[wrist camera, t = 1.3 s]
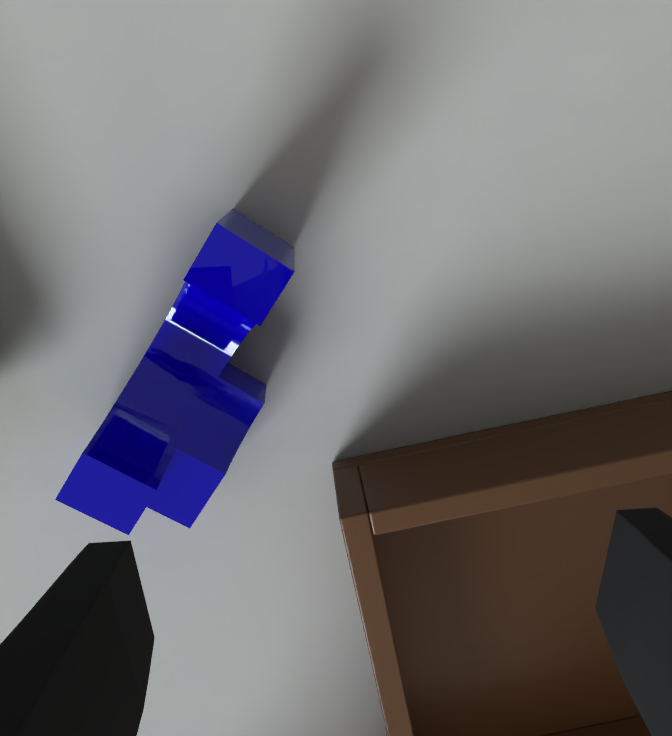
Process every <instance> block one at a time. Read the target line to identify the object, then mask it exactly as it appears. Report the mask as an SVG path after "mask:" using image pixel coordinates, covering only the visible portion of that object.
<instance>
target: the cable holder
mask: <svg viewBox="0 0 672 736" xmlns="http://www.w3.org/2000/svg"><path fill="white" fill-rule="evenodd" d="M294 272H295V271H294V247H292V246H291V245H289V244H287V243H286V242H284V241H283V240H281V239H280V238H278V237H277V236H275V235H273V234H272V233H270V232H269V231H267V230H266V229H264V228H262V227H261V226H259V225H258V224H256V223H255V222H253V221H251V220H250V219H248V218H247V217H245V216H244V215H242V214H241V213H239V212H237V211H236V210H234V209H232V210H231V211H230V212H229V213H227V214H226V215H225V216H224V217H223V218H222V219H220V220H219V221H218V222H217V223H216V225H215V227H214V228H213V230H212V232H211V233H210V235H209V237H208V239H207V240H206V242H205V244H204V245H203V247H202V249H201V251H200V252H199V254H198V256H197V257H196V259H195V261H194V263H193V264H192V266H191V268H190V269H189V271H188V273H187V275H186V276H185V278H184V281H185V283H184V285H183V288H182V290H181V292H180V294H179V295H178V297H177V299H176V301H175V303H174V305H173V307H172V308H171V310H170V312H169V314H168V316H167V317H166V319H165V321H164V323H163V324H162V326H161V328H160V330H159V331H158V333H157V335H156V337H155V338H154V340H153V342H152V343H151V345H150V347H149V349H148V350H147V352H146V354H145V355H144V357H143V359H142V360H141V362H140V364H139V365H138V367H137V369H136V370H135V372H134V374H133V375H132V377H131V378H130V380H129V382H128V383H127V385H126V387H125V388H124V390H123V391H122V393H121V395H120V396H119V398H118V399H117V401H116V403H115V404H114V406H113V407H112V409H111V411H110V412H109V414H108V415H107V417H106V418H105V420H104V422H103V423H102V425H101V426H100V428H99V429H98V431H97V432H96V434H95V435H94V437H93V438H92V440H91V441H90V443H89V444H88V446H87V447H86V449H85V450H84V451H83V453H82V455H81V456H80V458H79V460H78V461H77V463H76V465H75V467H74V468H73V470H72V472H71V473H70V475H69V477H68V479H67V480H66V482H65V484H64V485H63V487H62V489H61V491H60V492H59V494H58V496H57V497H56V499H55V500H57V501H59V502H61V503H63V504H65V505H67V506H70V507H72V508H74V509H76V510H78V511H80V512H82V513H84V514H86V515H88V516H90V517H92V518H94V519H96V520H98V521H101V522H103V523H105V524H107V525H109V526H111V527H113V528H115V529H117V530H119V531H121V532H123V533H125V534H127V535H129V534H130V532H131V530H132V529H133V527H134V526H135V524H136V523H137V521H138V519H139V518H140V516H141V515H142V513H143V511H144V510H145V508H146V507H148V508H150V509H152V510H154V511H156V512H158V513H160V514H162V515H164V516H166V517H168V518H170V519H172V520H174V521H176V522H178V523H180V524H182V525H184V526H186V527H188V528H190V527H191V526H192V524H193V523H194V521H195V520H196V518H197V517H198V515H199V514H200V512H201V511H202V509H203V507H204V506H205V504H206V503H207V501H208V500H209V498H210V497H211V495H212V494H213V492H214V491H215V489H216V488H217V486H218V485H219V483H220V482H221V480H222V479H223V477H224V476H225V474H226V472H227V470H228V468H229V465H230V463H231V461H232V459H233V457H234V455H235V453H236V451H237V449H238V448H239V446H240V444H241V442H242V440H243V438H244V437H245V435H246V433H247V431H248V429H249V428H250V426H251V424H252V423H253V421H254V419H255V418H256V416H257V414H258V413H259V411H260V410H261V408H262V406H263V405H264V403H265V394H266V385H265V384H263V383H262V382H260V381H258V380H256V379H255V378H253V377H251V376H249V375H248V374H246V373H244V372H242V371H241V370H239V369H237V368H236V367H234V366H232V365H230V364H229V363H227V362H228V361H229V359H230V358H231V356H232V355H233V353H234V352H235V350H236V349H237V347H238V346H239V345H240V343H241V342H242V340H243V339H244V338H245V336H246V335H247V334H248V333H249V331H250V330H251V329H252V328H253V327H254V326H255V325H256V324H258V325H259V326H261V324H262V322H263V321H264V319H265V318H266V316H267V315H268V313H269V311H270V310H271V308H272V307H273V305H274V303H275V302H276V300H277V299H278V297H279V295H280V294H281V292H282V291H283V289H284V288H285V286H286V284H287V283H288V281H289V280H290V278H291V276H292V275H293V273H294Z"/></svg>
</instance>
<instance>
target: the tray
mask: <svg viewBox="0 0 672 736" xmlns="http://www.w3.org/2000/svg"><path fill="white" fill-rule="evenodd" d="M332 467H333V475H334V482H335V490H336V497H337V505H338V512H339V520H340V524H341V528H342V533H343V537H344V542H345V546H346V551H347V555H348V560H349V564H350V569H351V573H352V578H353V582H354V587H355V591H356V595H357V600H358V604H359V609H360V613H361V618H362V622H363V627H364V631H365V636H366V640H367V645H368V649H369V654H370V658H371V662H372V667H373V671H374V676H375V680H376V685H377V689H378V694H379V698H380V703H381V707H382V712H383V716H384V721H385V725H386V730H387V734H388V736H652V735H651V733H650V731H649V730H648V728H647V726H646V724H645V722H644V720H643V718H642V716H641V714H640V712H639V710H638V708H637V706H636V704H635V702H634V700H633V699H632V697H631V695H630V693H629V691H628V689H627V687H626V685H625V683H624V681H623V679H622V677H621V675H620V672H619V670H618V667H617V665H616V662H615V660H614V657H613V655H612V652H611V650H610V647H609V644H608V642H607V639H606V636H605V634H604V631H603V628H602V625H601V623H600V620H599V617H598V614H597V612H596V609H595V606H596V602H597V597H598V592H599V588H600V583H601V579H602V574H603V569H604V565H605V560H606V556H607V551H608V547H609V542H610V537H611V533H612V528H613V524H614V519H615V514H616V510H624V509H640V508H656V507H657V508H658V509H660V510H661V511H663V512H664V513H666V514H667V515H669V516H670V517H672V391H671V392H666V393H661V394H656V395H651V396H647V397H642V398H637V399H632V400H627V401H622V402H618V403H613V404H608V405H603V406H598V407H594V408H589V409H584V410H579V411H574V412H569V413H565V414H560V415H555V416H550V417H545V418H541V419H536V420H531V421H526V422H521V423H517V424H512V425H507V426H502V427H497V428H492V429H488V430H483V431H478V432H473V433H468V434H464V435H459V436H454V437H449V438H444V439H439V440H435V441H430V442H425V443H420V444H415V445H411V446H406V447H401V448H396V449H391V450H387V451H382V452H377V453H372V454H367V455H362V456H358V457H353V458H348V459H343V460H338V461H334V462H332Z"/></svg>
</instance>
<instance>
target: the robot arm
mask: <svg viewBox="0 0 672 736" xmlns="http://www.w3.org/2000/svg"><path fill="white" fill-rule="evenodd" d="M595 609H596V612H597V614H598V617H599V620H600V623H601V625H602V628H603V631H604V634H605V636H606V639H607V642H608V644H609V647H610V650H611V652H612V655H613V657H614V660H615V662H616V665H617V667H618V670H619V672H620V675H621V677H622V679H623V681H624V683H625V685H626V687H627V689H628V691H629V693H630V695H631V697H632V699H633V700H634V702H635V704H636V706H637V708H638V710H639V712H640V714H641V716H642V718H643V720H644V722H645V724H646V726H647V728H648V730H649V731H650V733H651V735H652V736H672V517H670V516H669V515H667V514H666V513H664V512H663V511H661V510H660V509H658V508H657V507H656V508H640V509H624V510H616V514H615V519H614V524H613V528H612V533H611V537H610V542H609V547H608V551H607V556H606V560H605V565H604V569H603V574H602V579H601V583H600V588H599V592H598V597H597V602H596V606H595ZM153 644H154V634H153V630H152V626H151V622H150V618H149V613H148V609H147V605H146V601H145V597H144V593H143V589H142V585H141V581H140V577H139V573H138V569H137V565H136V561H135V557H134V552H133V548H132V544H131V541H118V542H102V543H89V544H88V545H87V546H86V547H85V548H84V549H83V550H82V551H81V552H80V553H79V554H78V556H77V557H76V558H75V559H74V560H73V561H72V562H71V564H70V565H69V566H68V567H67V568H66V569H65V571H64V572H63V573H62V574H61V575H60V576H59V578H58V579H57V580H56V581H55V582H54V583H53V585H52V586H51V587H50V588H49V589H48V590H47V592H46V593H45V594H44V595H43V596H42V597H41V599H40V600H39V601H38V602H37V603H36V604H35V606H34V607H33V608H32V609H31V610H30V611H29V612H28V614H27V615H26V616H25V617H24V618H23V619H22V621H21V622H20V623H19V624H18V625H17V626H16V627H15V629H14V630H13V631H12V632H11V633H10V634H9V635H8V636H7V637H6V639H5V640H4V641H3V642H2V643H1V644H0V736H136V735H137V732H138V728H139V724H140V720H141V716H142V713H143V709H144V702H145V696H146V690H147V684H148V678H149V672H150V665H151V658H152V651H153Z"/></svg>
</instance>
